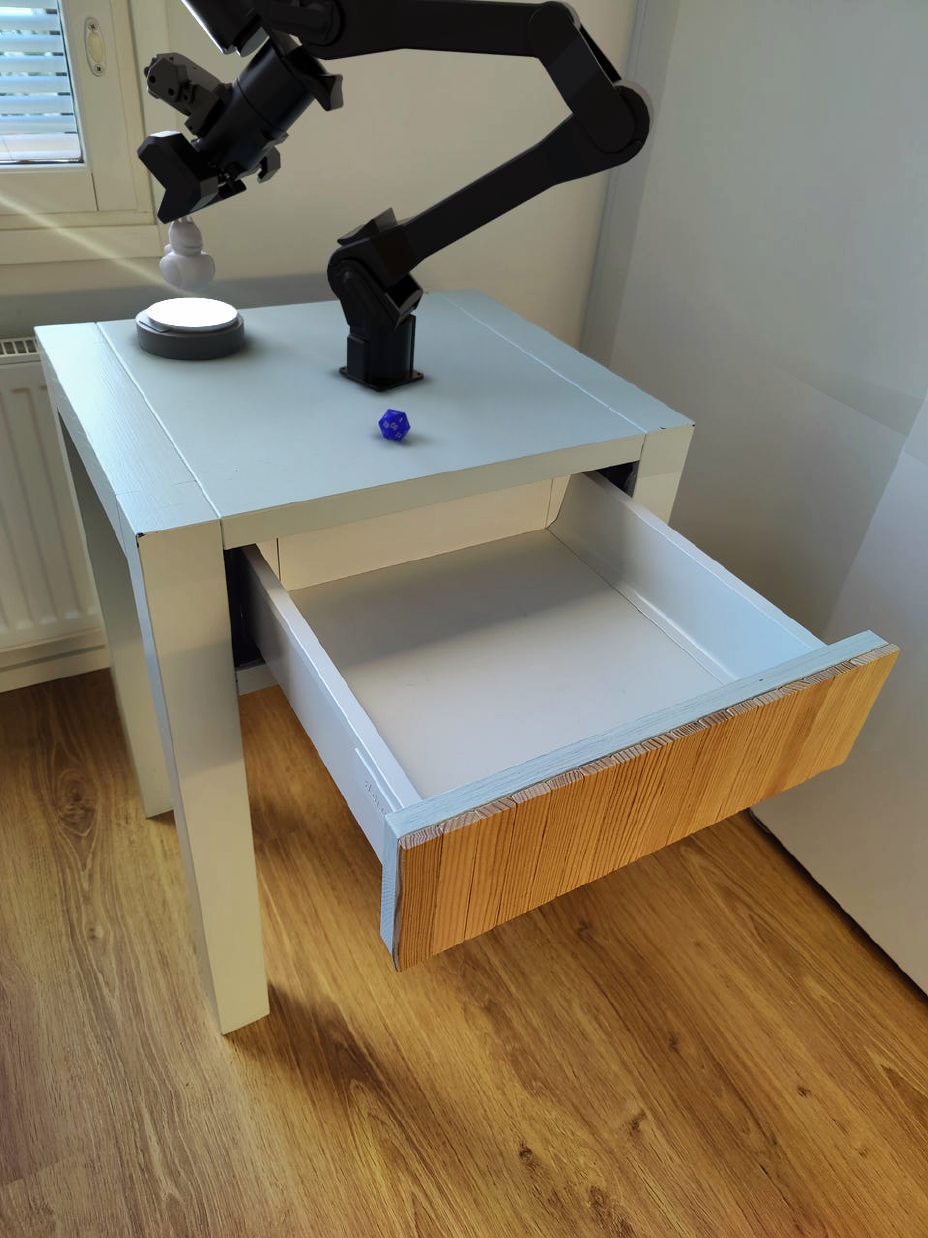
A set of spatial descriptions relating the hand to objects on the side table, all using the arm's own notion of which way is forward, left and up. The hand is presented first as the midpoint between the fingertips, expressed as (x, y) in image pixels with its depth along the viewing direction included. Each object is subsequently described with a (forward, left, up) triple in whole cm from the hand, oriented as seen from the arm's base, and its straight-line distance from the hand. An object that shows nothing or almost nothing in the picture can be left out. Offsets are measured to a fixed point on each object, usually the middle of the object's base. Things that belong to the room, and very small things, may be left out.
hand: (165, 217), depth 86 cm
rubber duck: (-1, +1, -7) cm, 7 cm away
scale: (-1, +1, -12) cm, 12 cm away
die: (-2, +31, -12) cm, 34 cm away
